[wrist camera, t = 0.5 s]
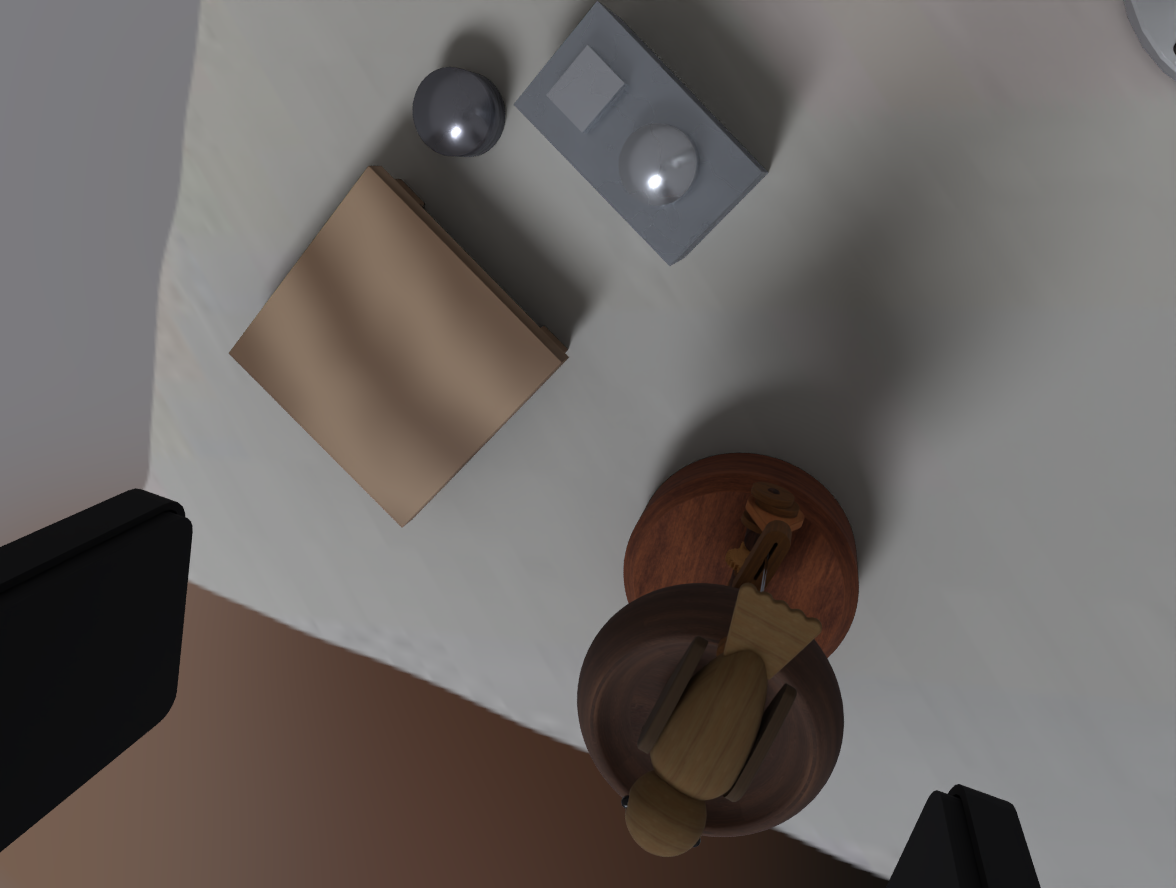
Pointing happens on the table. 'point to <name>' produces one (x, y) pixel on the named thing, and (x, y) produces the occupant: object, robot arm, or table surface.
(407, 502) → the stand
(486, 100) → the dark grey round piece
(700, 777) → the music box
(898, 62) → the table surface
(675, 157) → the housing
